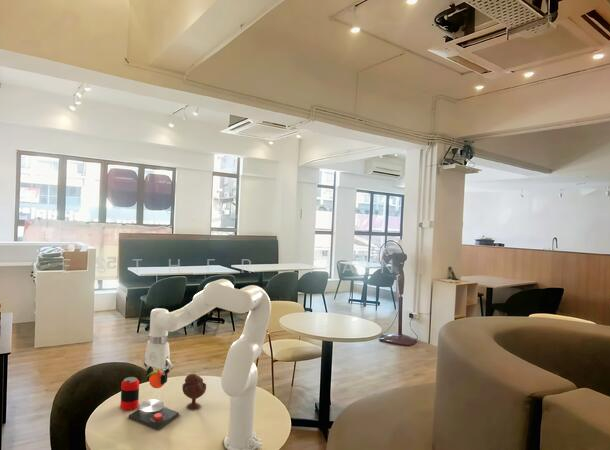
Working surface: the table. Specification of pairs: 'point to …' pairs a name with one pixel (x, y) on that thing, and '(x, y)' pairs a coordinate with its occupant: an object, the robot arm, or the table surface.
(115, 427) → the table surface
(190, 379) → the ice cream bowl
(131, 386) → the soda can
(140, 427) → the table surface
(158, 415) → the button
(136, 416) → the scale
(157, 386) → the clementine
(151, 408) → the pan
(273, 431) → the table surface
